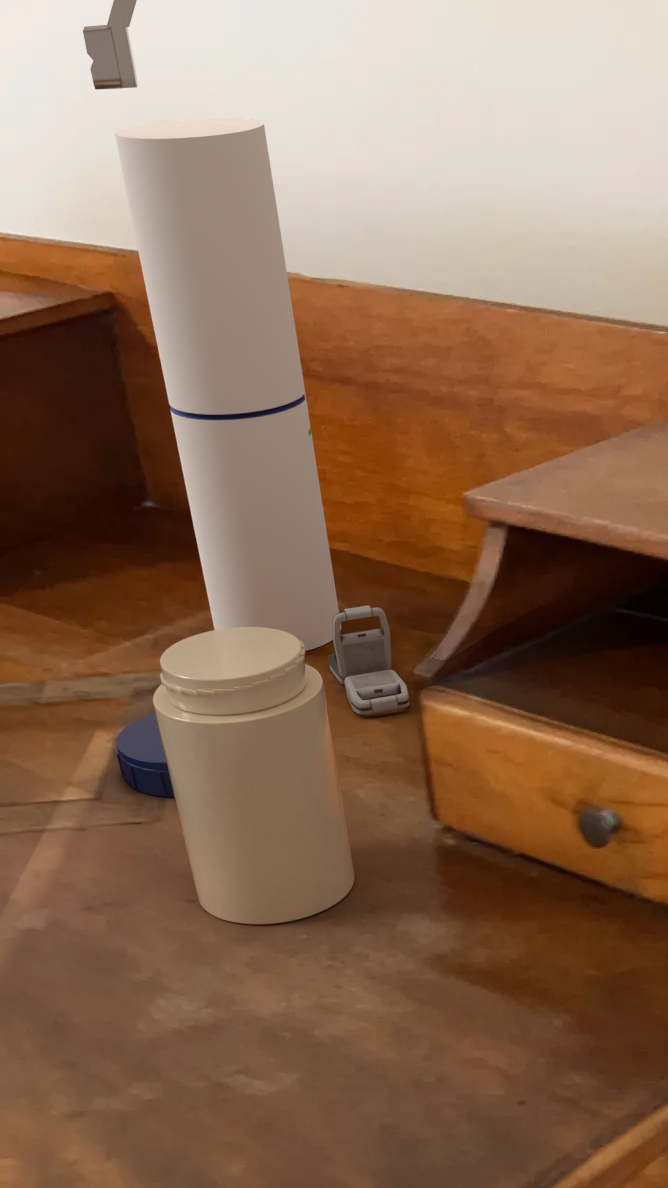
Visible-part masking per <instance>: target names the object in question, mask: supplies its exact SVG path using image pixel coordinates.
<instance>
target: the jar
mask: <svg viewBox="0 0 668 1188" xmlns="http://www.w3.org/2000/svg"><path fill="white" fill-rule="evenodd" d="M306 653H307V651H306V649H305V645H304V644H303V642H302V641H299V640H298V638H296V637H295V636H294V635H292V634H290V633H287V632H285V631H281V630H277V629H272V628H264V627H236V628H226V629H219V630H214V629H213V630H209V631H205V632H200V633H197V634H194V635H191V636H188V637H185V638H184V639H181V640H179V641H177V642H175V643H173V644H172V645H170V646H169V647H168V648H166V649H165V651H163V652H162V653H161V656H160V659H159V667H160V671H161V672H160V674H159V680H160V682H161V684H159V686H158V687H157V688H156V689H155V691H154V693H153V696H152V706H153V709H154V713H155V714H156V718H157V722H158V727H159V731H160V736H161V740H162V744H163V749H164V753H165V757H166V762H167V766H168V770H169V775H170V779H171V783H172V788H173V792H174V796H175V797H174V800H175V805H176V808H177V809H176V810H177V814H178V817H179V822H180V826H181V831H182V836H183V838H184V839H183V840H184V844H185V848H186V853H187V856H188V861H189V865H190V870H191V874H192V878H193V883H194V887H195V891H196V897H197V900H198V903H199V904H200V906H201V907H202V909H204V911H206V912H207V913H208V914H210V915H211V916H213V917H215V918H218V919H220V920H223V921H225V922H230V923H236V924H242V925H243V924H244V925H257V926H258V925H273V924H283V923H288V922H293V921H299V920H302V919H306V918H309V917H311V916H315V915H316V914H320V913H321V912H324V911H326V910H328V909H330V908H332V907H334V906H335V905H336V904H338V903H339V902H341V901H342V900H343V899H344V898H345V897H346V896H348V894H349V893H350V892H351V890H352V888H353V886H354V883H355V878H356V875H355V869H354V863H353V857H352V851H351V844H350V838H349V837H350V836H349V831H348V826H347V825H348V824H347V820H346V814H345V807H344V802H343V796H342V789H341V784H340V776H339V771H338V764H337V760H336V759H337V758H336V753H335V747H334V746H335V745H334V740H333V735H332V728H331V722H330V716H329V710H328V704H327V698H326V697H327V696H326V693H325V692H326V691H325V686H324V680H323V678H322V676H321V673H320V672H319V671H318V670H317V669H316V668H314V667H313V666H311V665H310V664H307V663H306V661H305V655H306Z"/></svg>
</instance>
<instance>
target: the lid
mask: <svg viewBox="0 0 668 1188" xmlns="http://www.w3.org/2000/svg"><path fill="white" fill-rule="evenodd" d="M115 741H116V742H115V745H116V750H117V753H116V756H117V760H118V764H119V769H120V773H121V777H122V778H124V780H125V782H126V783H127V784H128V785H129V787H131V788H132V789H134V790H135V791H138V792H140V793H143V794H145V795H150V796H156V797H165V798H166V797H167V798H175V796H174V792H173V788H172V783H171V779H170V775H169V770H168V766H167V762H166V757H165V753H164V749H163V744H162V740H161V736H160V731H159V727H158V722H157V718H156V714H155V712H153V713H151V714H148V715H146V716H143V717H141V718H138V719H136V720H134V721H133V722H131V723H130V724H128V725H126V726H125V727H124V728H123V729H122V730H121V731H120V732H119V734H118V735H117V737H116V740H115Z"/></svg>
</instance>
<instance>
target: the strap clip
mask: <svg viewBox="0 0 668 1188" xmlns="http://www.w3.org/2000/svg"><path fill="white" fill-rule="evenodd" d="M371 617H379V622H380V625H381V627H380V628H373V629H367V630H361V631H354V632H348V633H342V634H341V631H340V624H341V625H342V623H343V622H346V621H351V620H359V619H364V618H371ZM332 637H333V640H332V643H333V647H334V651H335V652H333V653H330V654H329V655H328V656H327V658H328V665H329V671H331V673H332V674H333V675H334V677H335V678H336V680H337V681H338V682H339V683H340V684H341V685H344V687H345V693H346V697H347V699H348V702H349V705H350V707H351V710H352V711H353V712H354V713H356V714H358V715H362V716H368V715H375V714H376V715H377V714H382V713H387V712H393V711H398V710H402V709H406V708H408V707H409V706H410V696H409V691H408V685H407V684H406V683H405V682H404V681H403V679H402V678H401V677H400V676H399V674H398V673H397V672H396V671H395V670H393V669H392V650H391V649H392V647H391V646H392V645H391V630H390V626H389V623H388V619H387V616H386V613H385V611H384V610H383V609H382V608H381V607H380V606H373V607H371V605H369V604H368V605H361V606H355V607H349V608H344V609H343V611H339V613H337V614H335V616H334V618H333V621H332Z"/></svg>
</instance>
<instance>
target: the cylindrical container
mask: <svg viewBox="0 0 668 1188" xmlns="http://www.w3.org/2000/svg"><path fill="white" fill-rule="evenodd" d="M114 137H115V141H116V146H117V150H118V156H119V161H120V166H121V167H120V168H121V172H122V177H123V181H124V187H125V193H126V197H127V201H128V206H129V210H130V216H131V220H132V221H131V222H132V226H133V231H134V236H135V241H136V246H137V252H138V256H139V261H140V266H141V271H142V276H143V281H144V286H145V291H146V292H145V293H146V297H147V301H148V305H149V306H148V307H149V312H150V316H151V321H152V326H153V330H154V335H155V342H156V345H157V349H158V356H159V360H160V364H161V365H160V366H161V370H162V375H163V380H164V386H165V390H166V391H165V392H166V395H167V400H168V404H169V406H170V407H169V408H170V414H171V415H170V416H171V420H172V425H173V430H174V431H173V432H174V434H175V440H176V446H177V451H178V454H179V456H178V457H179V462H180V466H181V470H182V474H183V480H184V485H185V490H186V495H187V500H188V505H189V510H190V516H191V520H192V526H193V530H194V535H195V539H196V544H197V550H198V554H199V560H200V565H201V570H202V575H203V581H204V584H205V589H206V594H207V599H208V604H209V609H210V614H211V619H212V623H213V624H212V625H213V630H219V629H226V628H236V627H264V628H272V629H277V630H281V631H285V632H287V633H290V634H292V635H294V636H295V637H296V638H298V640H299V641H302V642H303V644H304V645H305V649H306V652H307V651H310V650H315V649H316V648H319V647H322V646H325V645H326V644H328V643H330V642H333V637H332V621H333V618H334V616H335V614H337V613H340V609H339V603H338V597H337V591H336V583H335V578H334V572H333V570H334V569H333V563H332V557H331V550H330V544H329V538H328V531H327V524H326V519H325V512H324V511H325V510H324V506H323V499H322V493H321V486H320V485H321V484H320V479H319V473H318V465H317V460H316V453H315V447H314V439H313V434H312V433H313V432H312V430H311V421H310V420H311V419H310V415H309V409H308V408H309V406H308V401H307V395H306V388H305V381H304V375H303V368H302V363H301V362H302V361H301V356H300V349H299V343H298V336H297V330H296V323H295V317H294V310H293V304H292V298H291V290H290V283H289V278H288V271H287V264H286V258H285V252H284V246H283V238H282V232H281V226H280V220H279V212H278V207H277V200H276V199H277V198H276V194H275V188H274V187H275V186H274V179H273V174H272V167H271V161H270V154H269V148H268V142H267V141H268V140H267V134H266V129H265V123H264V121H262V120H259V119H254V118H246V117H244V118H243V117H200V118H199V117H197V118H184V119H171V120H163V121H162V120H161V121H153V122H147V123H140V124H136V125H135V124H134V125H130V126H126V127H123V128H120V129H117V130H116V131H114ZM341 631H342V623H341V624H340V632H341Z"/></svg>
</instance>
